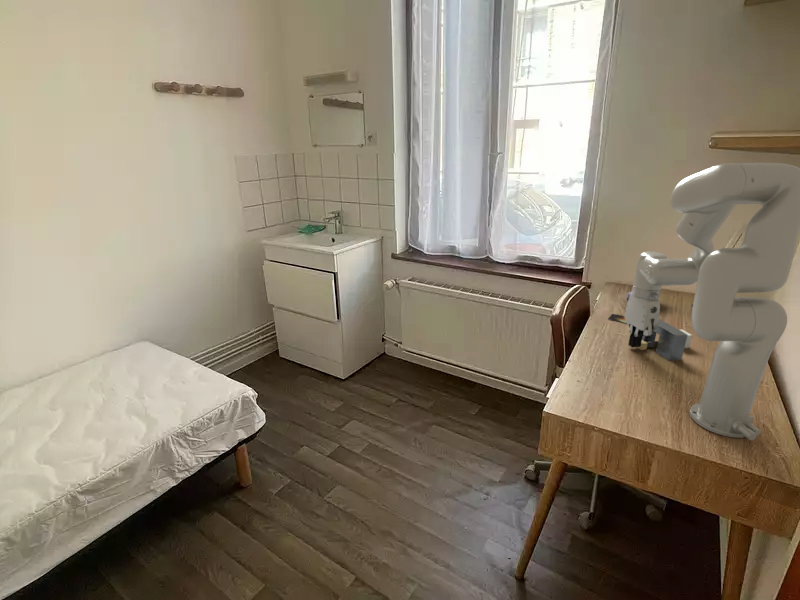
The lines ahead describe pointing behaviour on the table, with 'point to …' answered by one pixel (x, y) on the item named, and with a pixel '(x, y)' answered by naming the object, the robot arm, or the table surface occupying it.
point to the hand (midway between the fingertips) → (634, 345)
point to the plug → (654, 344)
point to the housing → (668, 341)
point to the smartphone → (617, 318)
